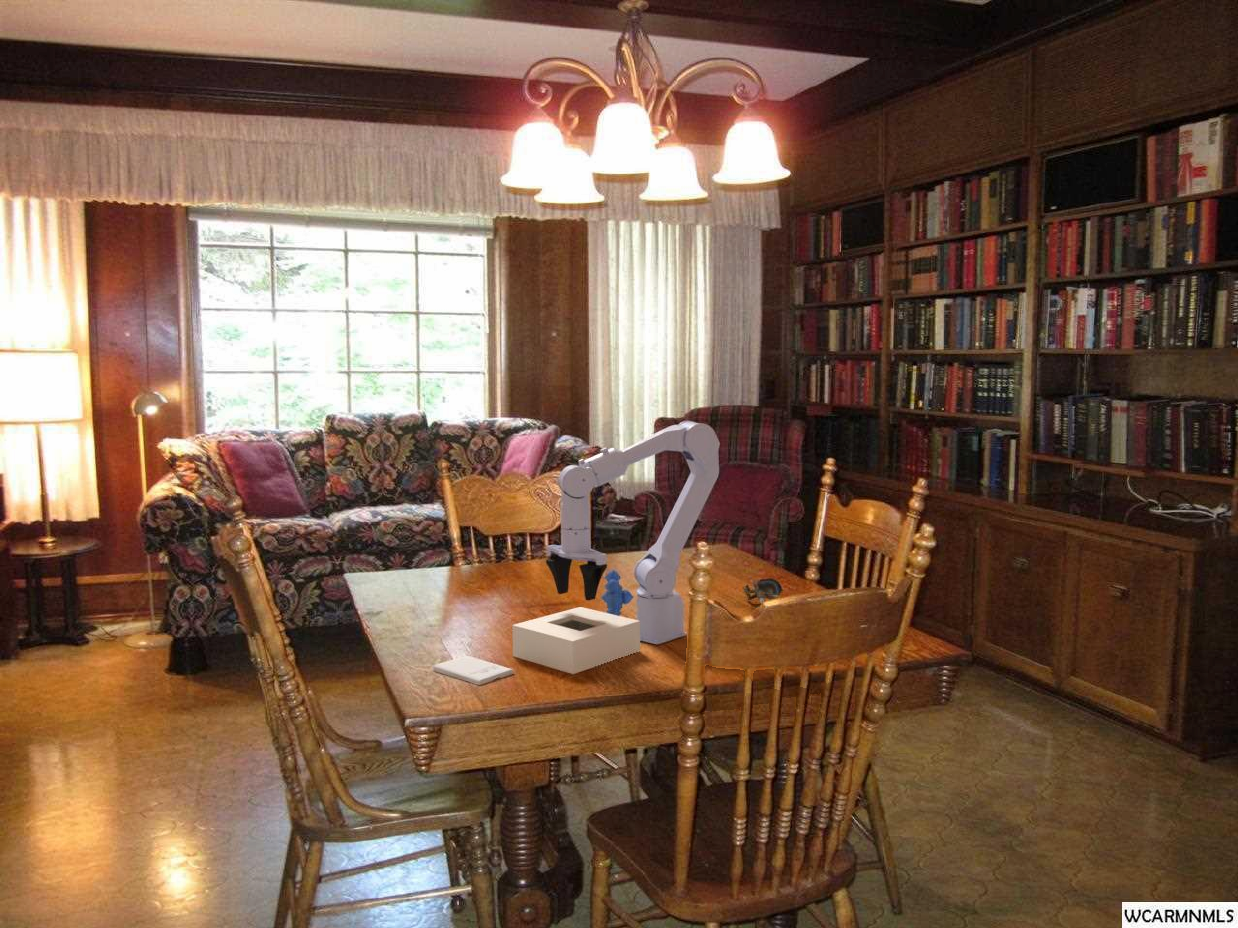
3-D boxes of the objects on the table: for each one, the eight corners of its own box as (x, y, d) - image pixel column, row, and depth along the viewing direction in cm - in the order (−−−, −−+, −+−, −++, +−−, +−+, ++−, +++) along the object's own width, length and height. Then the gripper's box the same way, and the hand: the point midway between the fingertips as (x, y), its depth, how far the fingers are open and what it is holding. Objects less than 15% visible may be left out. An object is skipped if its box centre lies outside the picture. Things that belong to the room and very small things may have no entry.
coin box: (580, 635, 200) (580, 606, 199) (640, 651, 189) (640, 620, 188) (512, 656, 186) (512, 624, 186) (572, 674, 176) (572, 641, 175)
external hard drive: (468, 663, 184) (514, 676, 176) (433, 674, 178) (479, 688, 170) (467, 654, 184) (514, 667, 176) (432, 665, 178) (479, 679, 170)
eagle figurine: (742, 603, 220) (783, 599, 217) (741, 573, 223) (780, 568, 221) (750, 614, 226) (789, 610, 224) (748, 585, 230) (787, 580, 227)
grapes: (634, 632, 202) (634, 574, 200) (601, 632, 202) (600, 574, 200) (633, 617, 213) (632, 562, 212) (601, 617, 213) (601, 562, 212)
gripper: (535, 526, 194) (536, 594, 195) (588, 534, 184) (588, 606, 186) (560, 521, 199) (561, 587, 201) (613, 529, 189) (614, 599, 191)
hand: (576, 596), depth 194 cm, fingers open, 7 cm apart
